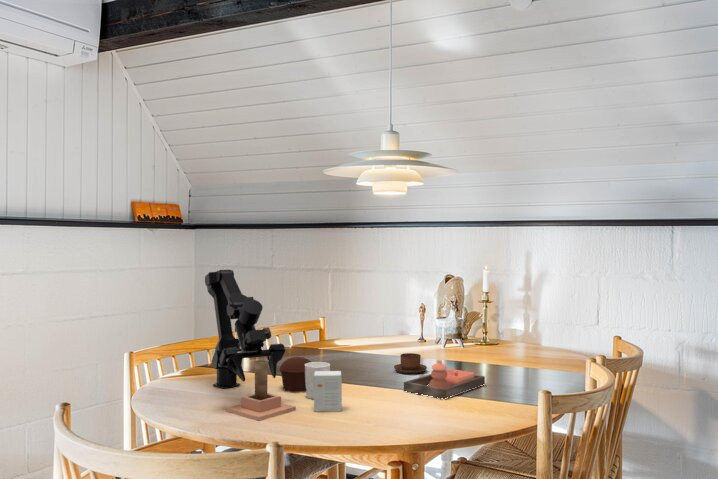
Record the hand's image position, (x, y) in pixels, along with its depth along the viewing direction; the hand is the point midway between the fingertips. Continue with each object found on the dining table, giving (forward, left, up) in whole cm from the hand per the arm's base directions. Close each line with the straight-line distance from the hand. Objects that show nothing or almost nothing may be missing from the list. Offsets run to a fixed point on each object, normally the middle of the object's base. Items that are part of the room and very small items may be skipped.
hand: (259, 379), depth 191 cm
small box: (+14, +14, -9) cm, 22 cm away
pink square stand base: (+1, 0, -9) cm, 9 cm away
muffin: (-10, +25, -9) cm, 28 cm away
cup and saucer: (+2, +70, -9) cm, 70 cm away
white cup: (+2, +22, -9) cm, 24 cm away
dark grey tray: (+26, +57, -9) cm, 63 cm away
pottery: (+26, +59, -9) cm, 65 cm away
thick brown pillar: (+1, 0, -8) cm, 8 cm away
